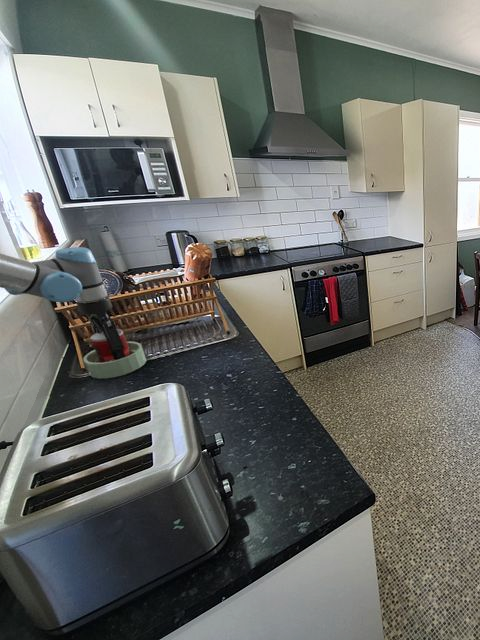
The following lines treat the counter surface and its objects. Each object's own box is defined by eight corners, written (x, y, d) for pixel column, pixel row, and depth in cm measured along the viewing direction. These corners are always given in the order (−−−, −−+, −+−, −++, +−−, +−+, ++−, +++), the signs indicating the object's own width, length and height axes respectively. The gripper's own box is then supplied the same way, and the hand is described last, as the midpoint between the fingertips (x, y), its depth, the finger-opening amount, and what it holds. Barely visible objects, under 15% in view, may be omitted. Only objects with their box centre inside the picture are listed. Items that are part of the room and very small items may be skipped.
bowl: (101, 385, 107) (93, 369, 104) (83, 370, 113) (76, 354, 111) (155, 364, 118) (149, 349, 115) (135, 352, 125) (130, 337, 122)
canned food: (139, 358, 118) (128, 329, 114) (117, 370, 111) (105, 340, 107) (118, 356, 119) (107, 327, 114) (96, 368, 112) (83, 338, 107)
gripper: (121, 302, 104) (145, 367, 113) (94, 288, 113) (118, 349, 123) (89, 310, 98) (117, 378, 107) (64, 295, 107) (91, 358, 117)
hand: (117, 362), depth 115 cm, fingers closed on canned food, 8 cm apart
